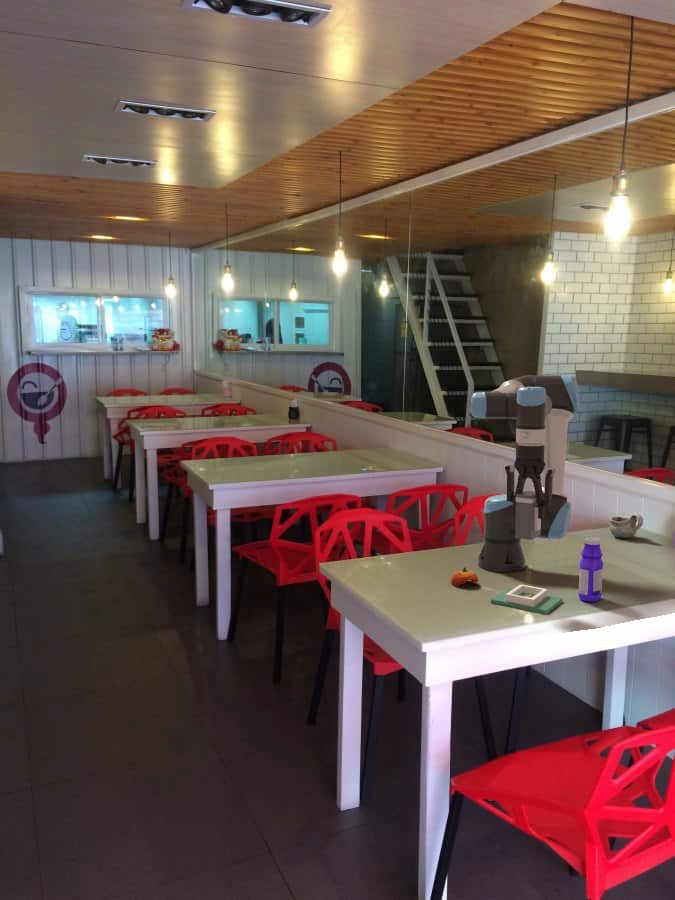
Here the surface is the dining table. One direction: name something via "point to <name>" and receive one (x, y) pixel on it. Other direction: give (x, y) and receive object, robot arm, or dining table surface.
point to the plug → (526, 515)
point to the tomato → (463, 577)
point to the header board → (527, 599)
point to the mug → (625, 525)
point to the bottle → (591, 571)
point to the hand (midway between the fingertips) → (528, 528)
